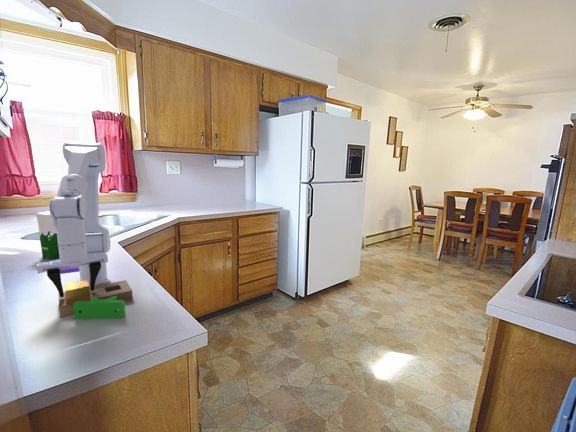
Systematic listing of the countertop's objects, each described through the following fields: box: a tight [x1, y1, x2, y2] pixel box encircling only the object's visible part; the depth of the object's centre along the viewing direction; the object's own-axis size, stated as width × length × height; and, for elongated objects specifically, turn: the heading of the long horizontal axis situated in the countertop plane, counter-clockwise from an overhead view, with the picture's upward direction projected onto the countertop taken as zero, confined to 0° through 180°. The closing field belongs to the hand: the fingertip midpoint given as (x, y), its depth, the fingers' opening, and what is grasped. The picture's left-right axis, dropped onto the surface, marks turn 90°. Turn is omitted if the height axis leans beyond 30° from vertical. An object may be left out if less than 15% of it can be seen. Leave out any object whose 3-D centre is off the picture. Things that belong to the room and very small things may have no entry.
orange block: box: [64, 280, 90, 302], centre depth 75 cm, size 5×5×6 cm
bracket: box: [60, 266, 80, 274], centre depth 104 cm, size 12×7×7 cm, turn 32°
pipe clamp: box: [73, 296, 126, 320], centre depth 71 cm, size 11×4×5 cm, turn 96°
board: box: [58, 279, 134, 318], centre depth 78 cm, size 9×16×3 cm, turn 129°
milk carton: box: [35, 210, 60, 261], centre depth 114 cm, size 9×9×20 cm
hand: (77, 292), depth 75 cm, fingers open, 6 cm apart
